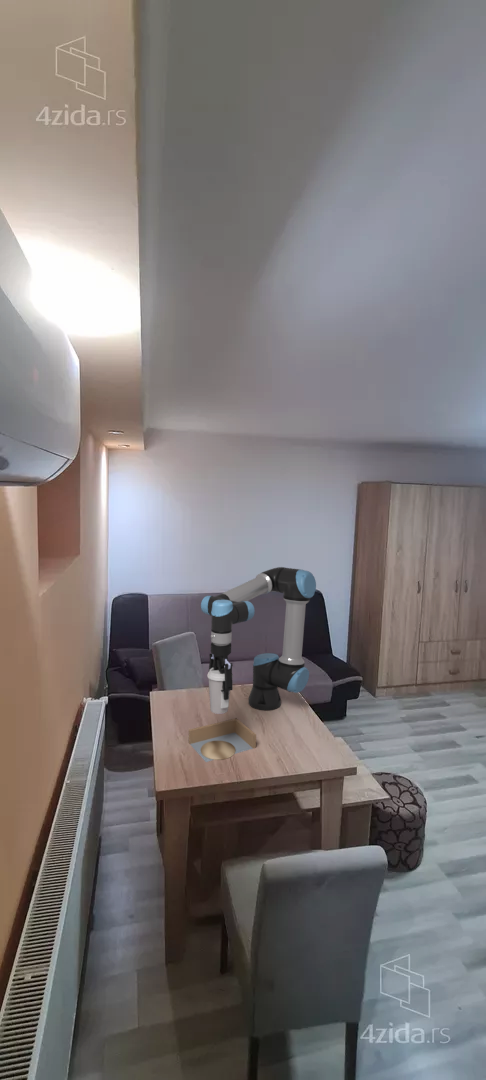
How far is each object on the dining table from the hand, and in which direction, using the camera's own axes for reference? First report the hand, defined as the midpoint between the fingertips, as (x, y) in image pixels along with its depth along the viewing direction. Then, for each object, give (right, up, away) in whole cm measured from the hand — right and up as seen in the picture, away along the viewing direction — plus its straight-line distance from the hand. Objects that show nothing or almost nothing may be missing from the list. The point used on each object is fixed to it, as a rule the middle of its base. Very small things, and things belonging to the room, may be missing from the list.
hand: (219, 703), depth 171 cm
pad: (-1, -18, +2) cm, 18 cm away
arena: (+1, -19, +5) cm, 19 cm away
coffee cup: (0, -3, 0) cm, 3 cm away
